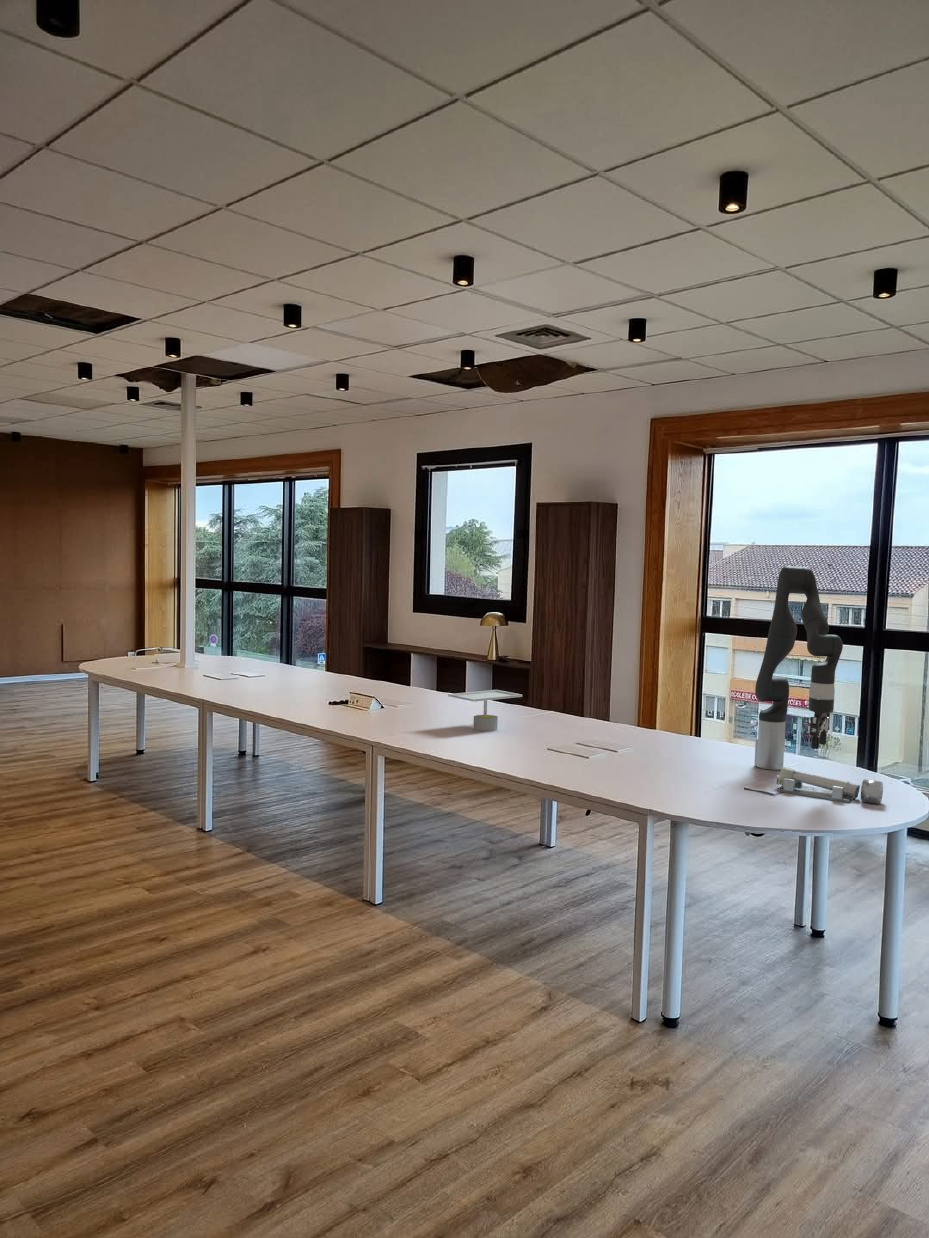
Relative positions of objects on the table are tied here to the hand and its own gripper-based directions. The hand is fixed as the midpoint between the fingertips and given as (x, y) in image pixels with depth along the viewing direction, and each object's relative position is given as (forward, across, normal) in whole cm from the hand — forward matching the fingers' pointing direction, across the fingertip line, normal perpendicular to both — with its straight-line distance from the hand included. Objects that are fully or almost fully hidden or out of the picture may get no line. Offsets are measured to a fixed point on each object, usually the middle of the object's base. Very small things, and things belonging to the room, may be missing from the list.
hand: (818, 746), depth 295 cm
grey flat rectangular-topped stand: (+18, -19, -143) cm, 145 cm away
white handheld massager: (+15, 0, 0) cm, 15 cm away
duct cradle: (+15, 0, +4) cm, 16 cm away
